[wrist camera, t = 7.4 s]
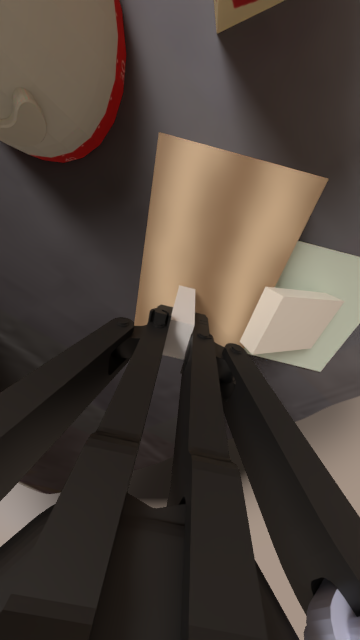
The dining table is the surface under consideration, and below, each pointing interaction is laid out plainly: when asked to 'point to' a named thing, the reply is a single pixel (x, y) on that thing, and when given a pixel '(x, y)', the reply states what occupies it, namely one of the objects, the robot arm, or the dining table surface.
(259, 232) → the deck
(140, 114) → the dining table surface
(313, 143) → the dining table surface
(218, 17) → the milk carton
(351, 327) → the mat
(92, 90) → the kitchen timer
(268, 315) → the white flat block
